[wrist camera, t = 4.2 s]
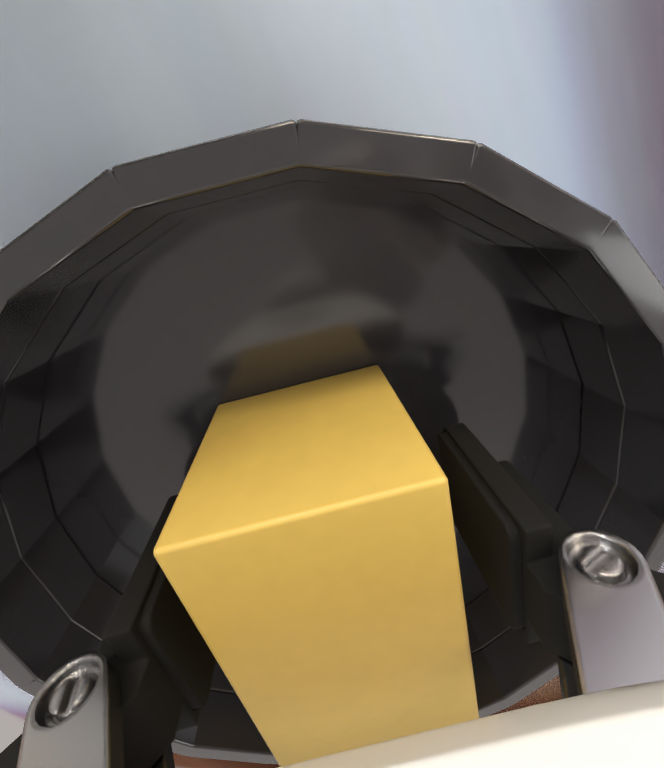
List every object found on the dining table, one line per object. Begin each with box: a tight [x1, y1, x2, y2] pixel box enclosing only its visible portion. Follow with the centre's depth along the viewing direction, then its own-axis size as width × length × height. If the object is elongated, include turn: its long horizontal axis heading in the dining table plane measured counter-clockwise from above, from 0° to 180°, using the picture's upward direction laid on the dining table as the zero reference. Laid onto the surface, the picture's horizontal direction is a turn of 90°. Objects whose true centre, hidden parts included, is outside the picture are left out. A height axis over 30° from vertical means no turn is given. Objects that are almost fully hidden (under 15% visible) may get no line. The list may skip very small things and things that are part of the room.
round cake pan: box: [0, 119, 664, 764], centre depth 10 cm, size 17×17×4 cm
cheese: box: [154, 365, 479, 767], centre depth 9 cm, size 4×7×5 cm, turn 13°
